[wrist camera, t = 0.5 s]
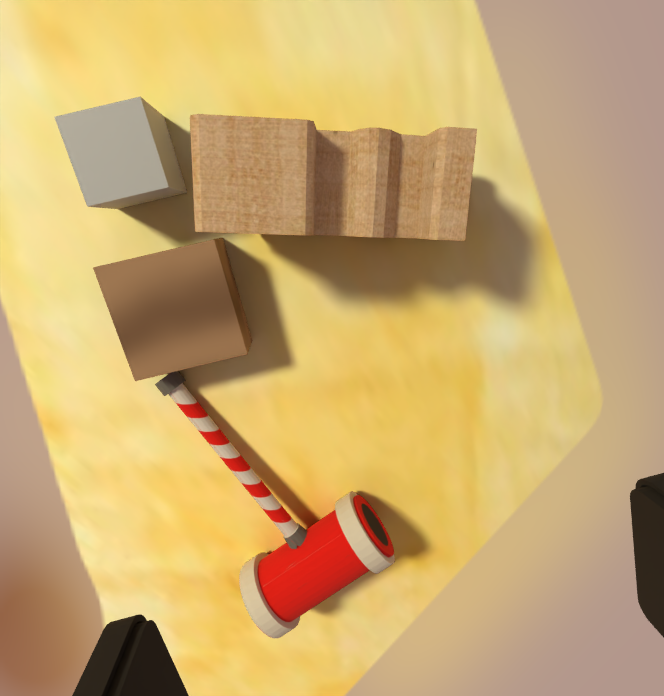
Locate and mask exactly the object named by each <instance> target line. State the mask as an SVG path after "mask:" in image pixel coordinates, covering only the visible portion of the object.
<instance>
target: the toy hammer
mask: <svg viewBox="0 0 664 696" xmlns="http://www.w3.org/2000/svg"><path fill="white" fill-rule="evenodd" d="M184 381H186V380H185V379H184V378H183V376H182V375H181V374H180V373H179V372H178V371H175V372H171V373H170V374H168V375H167V376H166V377H164V378H163V379H162V380H160V381H159V382H158V383H156V384H155V385H156V386H157V388H158V389H159V390H160V391H161V392H162V394H163V395H164V396H166V395H167V394H169V395H170V397H171V398H172V399H173V400H174V401H175V403H176V404H177V405H178V406H179V408H180V409H181V410H182V411H183V412H184V414H185V415H186V416H187V417H188V419H189V420H190V421H191V422H192V423H193V425H194V426H195V427H196V428H197V429H198V431H199V432H200V433H201V434H202V436H203V437H204V438H205V439H206V440H207V442H208V443H209V444H210V445H211V447H212V448H213V449H214V450H215V451H216V453H217V454H218V455H219V456H220V458H221V459H222V460H223V461H224V462H225V464H226V465H227V466H228V467H229V469H230V470H231V471H232V472H233V473H234V475H235V476H236V477H237V478H238V480H239V481H240V482H241V483H242V484H243V486H244V487H245V488H246V489H247V490H248V492H249V493H250V494H251V495H252V497H253V498H254V499H255V500H256V501H257V503H258V504H259V505H260V506H261V508H262V509H263V510H264V511H265V512H266V514H267V515H268V516H269V517H270V519H271V520H272V521H273V522H274V523H275V525H276V526H277V527H278V528H279V530H280V531H281V532H282V533H283V535H284V538H285V540H286V542H287V543H285V544H284V545H282V546H281V547H279V548H278V549H276V550H275V551H273V552H272V553H271V554H268V553H260V554H258V555H256V556H255V557H253V558H252V559H250V560H249V561H247V562H246V563H245V564H244V565H243V566H242V568H241V571H240V590H241V594H242V598H243V601H244V604H245V607H246V609H247V611H248V613H249V615H250V616H251V618H252V620H253V621H254V623H255V624H256V625H257V627H258V628H259V629H260V630H261V631H262V632H263V633H264V634H266V635H267V636H269V637H272V638H279V637H281V636H283V635H284V634H286V633H287V632H289V631H291V630H292V629H294V628H295V627H296V626H297V625H298V623H299V620H300V616H301V615H302V614H304V613H305V612H307V611H308V610H310V609H311V608H313V607H314V606H316V605H318V604H319V603H321V602H322V601H324V600H325V599H327V598H328V597H330V596H331V595H333V594H334V593H336V592H337V591H339V590H340V589H342V588H344V587H345V586H347V585H348V584H350V583H351V582H353V581H354V580H356V579H357V578H359V577H360V576H362V575H363V574H365V573H366V572H368V571H372V572H373V573H376V574H377V573H380V572H381V571H383V570H384V569H386V568H387V567H389V566H390V565H392V564H393V563H394V562H395V557H394V549H393V545H392V542H391V540H390V537H389V535H388V533H387V531H386V529H385V527H384V525H383V524H382V522H381V520H380V519H379V517H378V516H377V514H376V513H375V511H374V510H373V508H372V507H371V506H370V505H369V503H368V502H367V501H366V500H365V499H364V498H363V497H361V496H360V495H358V494H357V493H355V492H353V491H351V492H349V493H348V494H346V495H345V496H344V497H342V498H341V499H339V500H338V501H336V503H335V510H334V511H333V512H331V513H330V514H328V515H327V516H325V517H324V518H322V519H321V520H319V521H318V522H316V523H315V524H314V525H312V526H311V527H309V528H308V529H306V530H305V529H304V528H303V527H302V526H300V525H299V524H298V523H295V521H294V520H293V519H292V518H291V517H290V515H289V514H288V513H287V512H286V510H285V509H284V508H283V507H282V505H281V504H280V503H279V502H278V500H277V499H276V498H275V497H274V496H273V494H272V493H271V492H270V491H269V489H268V488H267V487H266V486H265V484H264V483H263V482H262V481H261V480H260V478H259V477H258V476H257V475H256V473H255V472H254V471H253V470H252V468H251V467H250V466H249V465H248V463H247V462H246V461H245V460H244V459H243V457H242V456H241V455H240V454H239V452H238V451H237V450H236V449H235V447H234V446H233V445H232V444H231V442H230V441H229V440H228V439H227V438H226V436H225V435H224V434H223V433H222V431H221V430H220V429H219V428H218V426H217V425H216V424H215V423H214V421H213V420H212V419H211V418H210V417H209V415H208V414H207V413H206V412H205V410H204V409H203V408H202V407H201V405H200V404H199V403H198V402H197V401H196V399H195V398H194V397H193V396H192V394H191V393H190V392H189V391H188V389H187V388H186V387H185V386H184V384H183V382H184Z"/></svg>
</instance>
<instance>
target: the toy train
mask: <svg viewBox="0 0 664 696" xmlns="http://www.w3.org/2000/svg"><path fill="white" fill-rule="evenodd" d="M190 130H191V153H192V176H193V198H194V221H195V232H219V233H248V234H278V235H333V236H355V237H381V238H419V239H431V240H458V241H465V237H466V228H467V218H468V209H469V200H470V190H471V181H472V172H473V162H474V153H475V144H476V133H477V129H470V128H455V127H445V128H439V129H437V130H435V131H433V132H432V133H430V134H428V135H426V136H416V135H402V134H399V133H397V132H394V131H392V130H388V129H382V128H365V129H358V130H355V131H351V132H346V131H327V130H316V127H315V124H314V121H310V120H300V119H280V118H261V117H242V116H223V115H204V114H196V115H191V116H190Z"/></svg>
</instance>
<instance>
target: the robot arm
mask: <svg viewBox="0 0 664 696" xmlns="http://www.w3.org/2000/svg"><path fill="white" fill-rule="evenodd" d="M630 502H631V514H632V528H633V541H634V554H635V568H636V580H637V594H638V601H639V604H640V607H641V609H642V611H643V613H644V614H645V616H646V618H647V619H648V620H649V621H650V623H651V624H652V625H653V626H654V627H655V628H656V629H657V630H658V631H659V633H660V634H661V635H662V636H663V637H664V473H662V474H658V475H654V476H650V477H647V478H643V479H640V480H638V481H637V483H636V489H634V490H632V491H631V493H630ZM72 696H189V695H188V693H187V691H186V689H185V687H184V685H183V682H182V680H181V678H180V676H179V674H178V671H177V669H176V667H175V665H174V663H173V661H172V658H171V656H170V654H169V652H168V650H167V647H166V645H165V643H164V641H163V639H162V636H161V634H160V632H159V630H158V628H157V626H156V624H155V622H154V621H152V620H149V621H147V620H146V618H145V617H144V616H143V615H135V616H132V617H128V618H124V619H121V620H117V621H113V622H110V623H109V624H107V625H106V627H105V628H104V630H103V632H102V634H101V637H100V638H99V640H98V643H97V645H96V647H95V649H94V651H93V653H92V655H91V657H90V659H89V662H88V664H87V666H86V668H85V670H84V672H83V674H82V676H81V679H80V681H79V683H78V685H77V687H76V689H75V692H74V693H73V695H72Z"/></svg>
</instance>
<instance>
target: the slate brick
mask: <svg viewBox="0 0 664 696" xmlns="http://www.w3.org/2000/svg"><path fill="white" fill-rule="evenodd" d="M55 120H56V122H57V125H58V128H59V131H60V133H61V136H62V139H63V142H64V144H65V147H66V150H67V152H68V155H69V158H70V161H71V163H72V166H73V169H74V171H75V174H76V177H77V180H78V182H79V185H80V188H81V191H82V193H83V196H84V199H85V201H86V204H87V206H88V207H99V208H111V209H121V208H125V207H129V206H133V205H137V204H142V203H146V202H150V201H154V200H158V199H162V198H167V197H171V196H175V195H179V194H183V193H187V190H186V187H185V183H184V180H183V177H182V174H181V170H180V167H179V164H178V160H177V157H176V154H175V151H174V147H173V144H172V141H171V137H170V134H169V131H168V128H167V124H166V121H165V118H164V116H163V115H162V114H160V113H159V112H158V111H157V110H156V109H154V108H153V107H152V106H151V105H150V104H148V103H147V102H146V101H145V100H144V99H142V98H141V97H137V98H133V99H128V100H124V101H120V102H116V103H111V104H107V105H103V106H99V107H94V108H90V109H86V110H82V111H77V112H73V113H69V114H65V115H60V116H56V117H55Z"/></svg>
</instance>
